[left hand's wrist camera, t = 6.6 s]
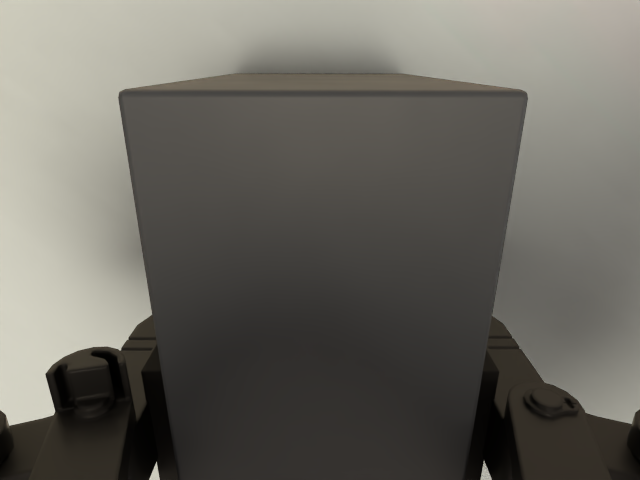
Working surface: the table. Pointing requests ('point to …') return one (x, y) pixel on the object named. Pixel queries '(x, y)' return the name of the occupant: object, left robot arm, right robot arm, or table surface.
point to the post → (322, 267)
